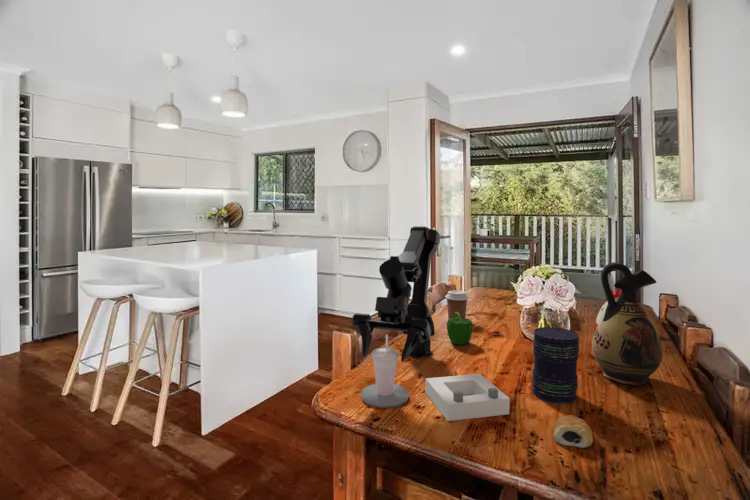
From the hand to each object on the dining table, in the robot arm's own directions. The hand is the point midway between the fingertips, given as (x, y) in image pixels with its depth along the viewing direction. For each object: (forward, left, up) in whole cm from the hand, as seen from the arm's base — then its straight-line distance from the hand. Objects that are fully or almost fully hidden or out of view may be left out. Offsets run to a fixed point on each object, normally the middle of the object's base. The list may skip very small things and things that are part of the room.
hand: (382, 358), depth 95 cm
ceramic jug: (+32, +55, -10) cm, 64 cm away
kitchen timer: (+15, +104, -10) cm, 106 cm away
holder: (+14, +12, -10) cm, 21 cm away
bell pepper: (-14, +47, -10) cm, 50 cm away
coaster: (-1, +1, -10) cm, 10 cm away
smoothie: (-1, +1, -9) cm, 9 cm away
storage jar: (+25, +31, -10) cm, 42 cm away
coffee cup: (-31, +68, -10) cm, 76 cm away
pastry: (+36, +16, -10) cm, 41 cm away
